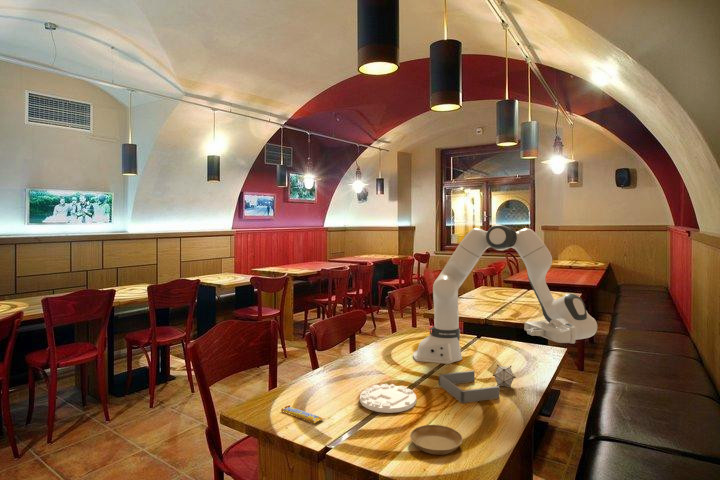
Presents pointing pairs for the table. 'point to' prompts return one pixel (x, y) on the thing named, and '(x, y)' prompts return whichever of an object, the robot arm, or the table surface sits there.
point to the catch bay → (466, 395)
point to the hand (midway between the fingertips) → (529, 332)
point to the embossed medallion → (388, 398)
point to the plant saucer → (436, 439)
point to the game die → (504, 376)
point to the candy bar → (302, 414)
